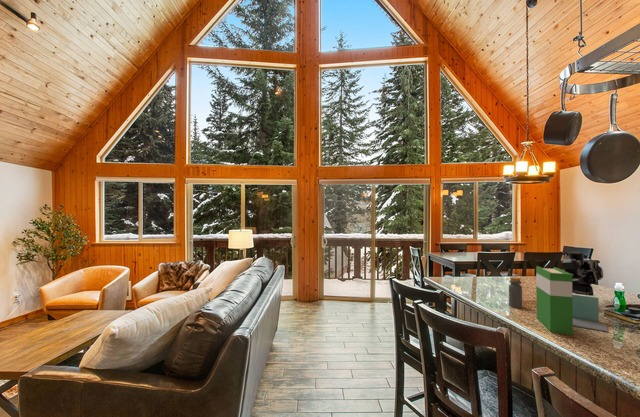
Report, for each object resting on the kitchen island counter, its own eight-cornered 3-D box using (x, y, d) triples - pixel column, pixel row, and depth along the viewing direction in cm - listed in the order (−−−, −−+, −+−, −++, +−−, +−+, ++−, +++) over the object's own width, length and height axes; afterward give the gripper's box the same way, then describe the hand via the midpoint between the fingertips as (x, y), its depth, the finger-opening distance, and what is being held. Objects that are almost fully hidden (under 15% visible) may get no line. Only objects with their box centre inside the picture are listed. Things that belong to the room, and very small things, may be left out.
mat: (561, 317, 144) (561, 316, 144) (605, 324, 134) (605, 323, 134) (560, 324, 135) (560, 322, 135) (607, 332, 125) (607, 331, 125)
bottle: (520, 305, 162) (520, 276, 163) (523, 308, 157) (523, 278, 157) (507, 304, 164) (507, 276, 165) (510, 307, 159) (510, 278, 159)
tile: (567, 316, 146) (566, 292, 146) (598, 321, 139) (598, 296, 139) (566, 317, 143) (566, 293, 143) (598, 323, 136) (598, 298, 137)
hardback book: (536, 318, 141) (536, 266, 142) (556, 320, 139) (555, 267, 139) (550, 332, 125) (549, 273, 125) (572, 335, 122) (572, 274, 123)
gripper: (549, 258, 165) (539, 267, 156) (594, 256, 150) (585, 265, 141) (555, 279, 164) (545, 288, 155) (601, 278, 149) (593, 289, 140)
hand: (566, 282), depth 148 cm, fingers open, 9 cm apart
